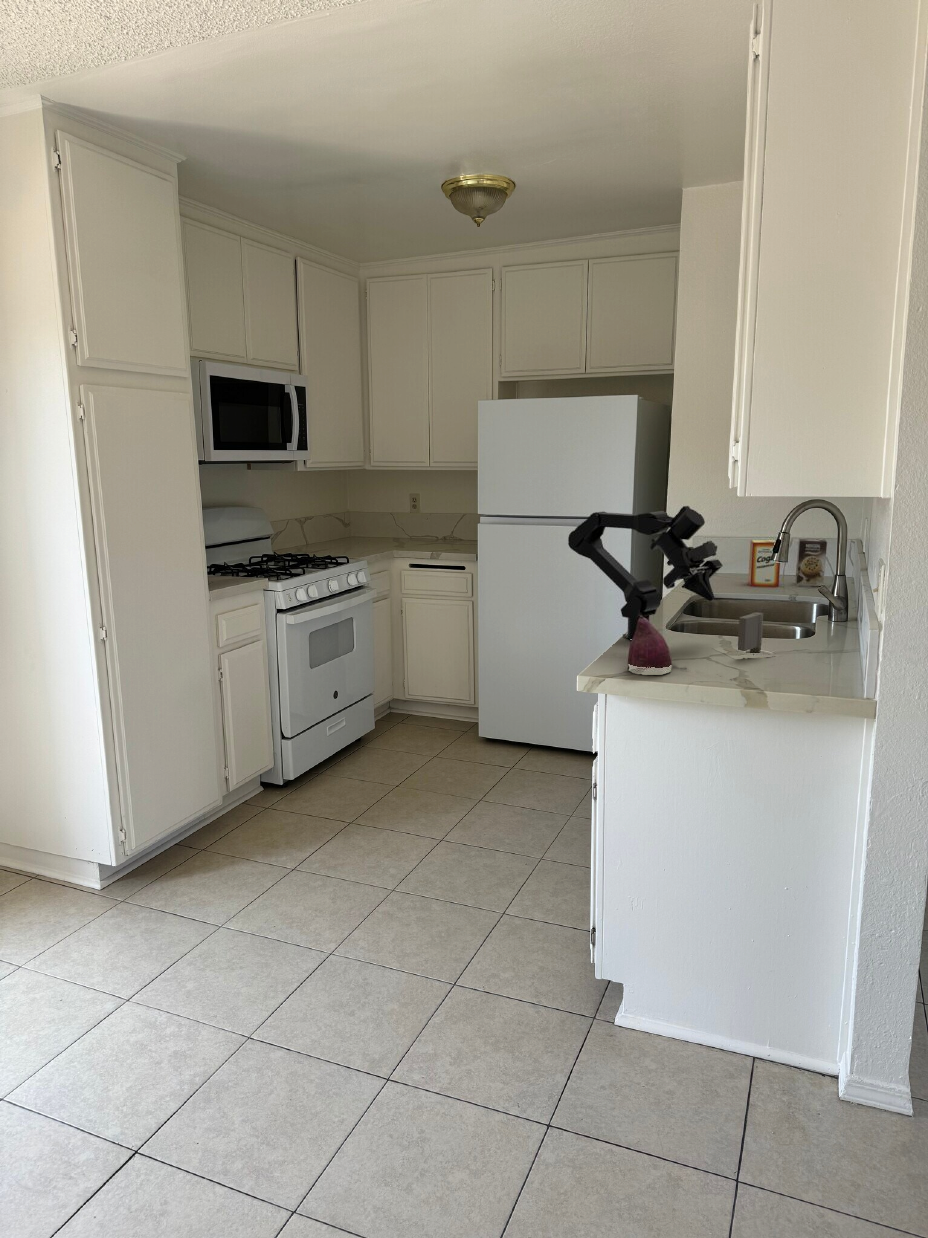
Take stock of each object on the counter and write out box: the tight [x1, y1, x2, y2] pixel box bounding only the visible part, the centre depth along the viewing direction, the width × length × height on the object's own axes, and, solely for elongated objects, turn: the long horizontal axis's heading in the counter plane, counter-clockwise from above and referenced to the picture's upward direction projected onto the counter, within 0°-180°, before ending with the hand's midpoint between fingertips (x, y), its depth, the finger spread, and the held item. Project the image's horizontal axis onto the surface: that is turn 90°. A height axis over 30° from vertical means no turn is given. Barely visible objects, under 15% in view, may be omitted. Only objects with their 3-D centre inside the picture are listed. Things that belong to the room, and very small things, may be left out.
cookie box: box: [794, 538, 828, 587], centre depth 304 cm, size 9×6×16 cm
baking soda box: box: [747, 539, 781, 588], centre depth 306 cm, size 10×6×16 cm
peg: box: [737, 612, 773, 655], centre depth 208 cm, size 6×8×10 cm
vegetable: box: [627, 616, 673, 668], centre depth 201 cm, size 10×10×15 cm
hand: (712, 599), depth 215 cm, fingers closed
